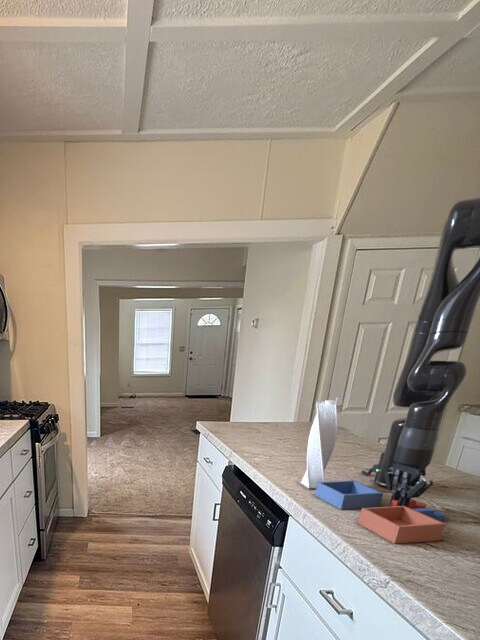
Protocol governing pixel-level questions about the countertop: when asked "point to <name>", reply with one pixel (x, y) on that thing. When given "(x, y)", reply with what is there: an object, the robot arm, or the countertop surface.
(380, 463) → the robot arm
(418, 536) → the terracotta bin
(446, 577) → the countertop surface
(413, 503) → the red stepped block
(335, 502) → the blue bin
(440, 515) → the blue stepped block
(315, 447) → the skyscraper
